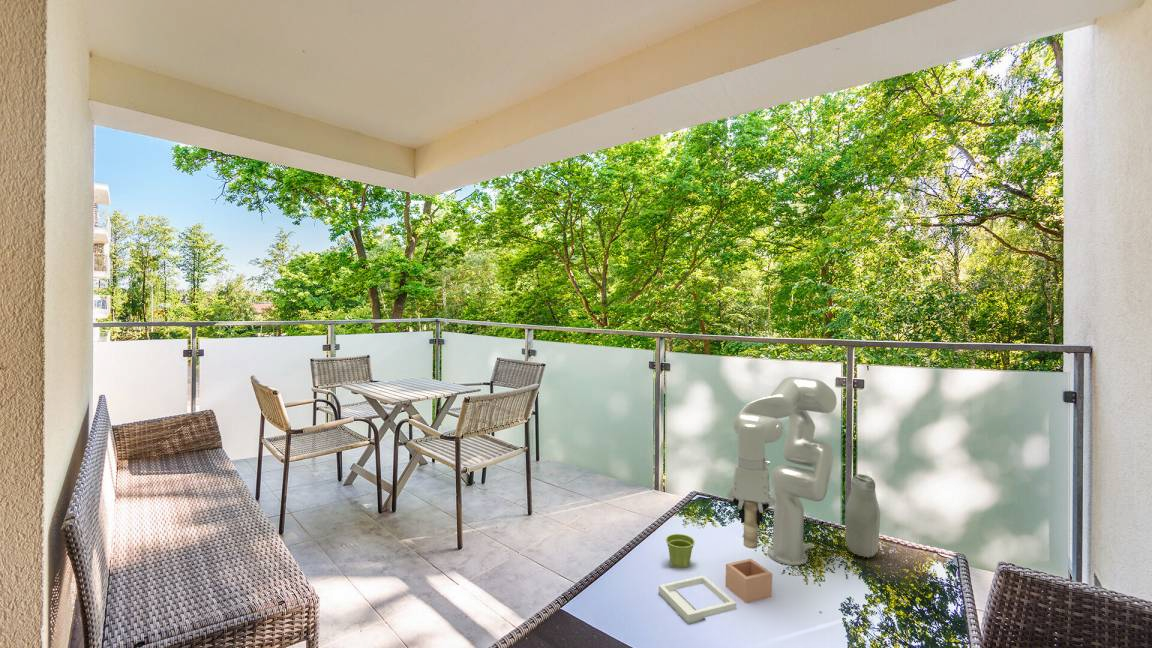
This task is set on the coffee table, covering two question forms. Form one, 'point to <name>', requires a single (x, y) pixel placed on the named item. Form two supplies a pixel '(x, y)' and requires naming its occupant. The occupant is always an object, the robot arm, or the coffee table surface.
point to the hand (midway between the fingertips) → (750, 521)
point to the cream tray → (685, 607)
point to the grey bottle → (862, 517)
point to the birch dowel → (750, 524)
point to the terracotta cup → (748, 580)
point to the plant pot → (680, 549)
